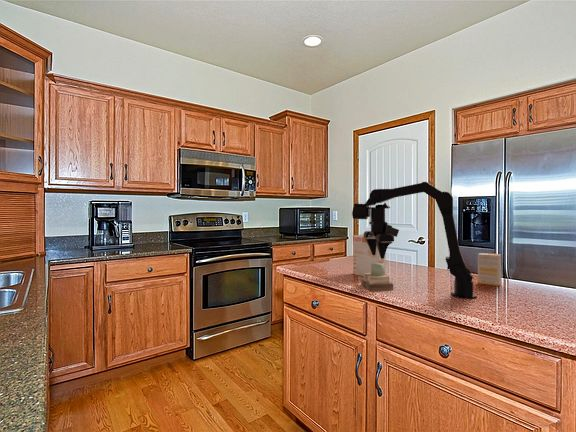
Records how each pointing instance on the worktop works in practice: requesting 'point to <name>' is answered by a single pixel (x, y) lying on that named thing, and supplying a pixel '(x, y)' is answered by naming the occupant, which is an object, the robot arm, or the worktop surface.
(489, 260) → the supplement box
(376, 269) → the green rounded lump
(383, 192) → the robot arm
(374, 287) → the base slab
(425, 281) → the worktop surface
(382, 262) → the coffeecake box
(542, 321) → the worktop surface
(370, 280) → the top block
